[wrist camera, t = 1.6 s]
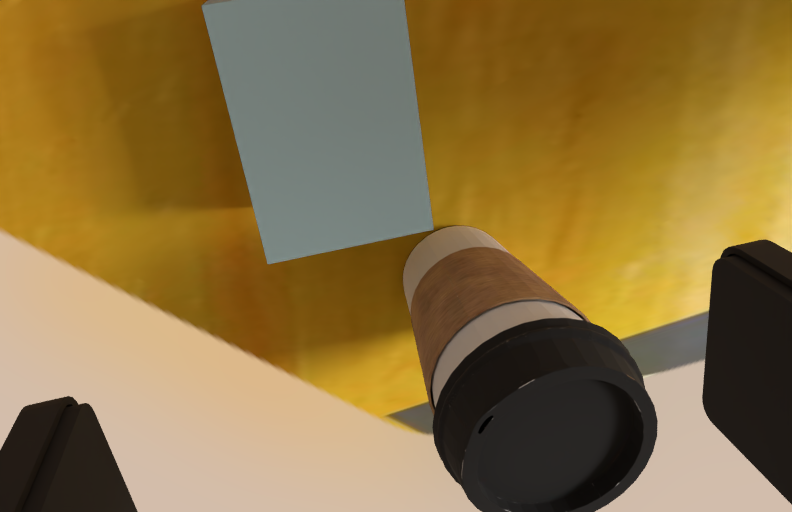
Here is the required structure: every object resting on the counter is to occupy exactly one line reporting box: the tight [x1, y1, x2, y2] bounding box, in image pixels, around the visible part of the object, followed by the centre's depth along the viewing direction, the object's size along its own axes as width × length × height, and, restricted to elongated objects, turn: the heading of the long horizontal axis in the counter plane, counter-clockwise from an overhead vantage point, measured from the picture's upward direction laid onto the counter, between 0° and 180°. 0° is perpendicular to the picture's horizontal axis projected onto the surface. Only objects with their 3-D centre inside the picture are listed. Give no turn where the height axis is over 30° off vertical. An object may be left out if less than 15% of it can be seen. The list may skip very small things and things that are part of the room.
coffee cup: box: [403, 226, 657, 512], centre depth 30 cm, size 8×8×15 cm
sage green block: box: [202, 0, 434, 264], centre depth 28 cm, size 7×10×7 cm
